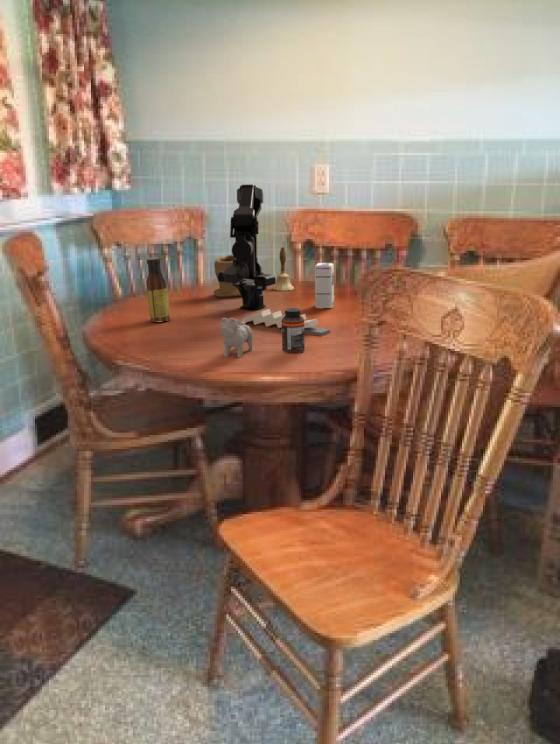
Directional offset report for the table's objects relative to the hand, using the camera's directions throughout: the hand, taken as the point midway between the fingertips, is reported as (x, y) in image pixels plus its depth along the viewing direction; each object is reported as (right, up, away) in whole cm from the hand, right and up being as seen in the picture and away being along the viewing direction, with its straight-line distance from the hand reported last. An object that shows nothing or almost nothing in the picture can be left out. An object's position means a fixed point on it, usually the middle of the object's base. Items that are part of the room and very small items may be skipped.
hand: (247, 305), depth 205 cm
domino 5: (+14, -7, -8) cm, 18 cm away
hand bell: (+12, +11, +50) cm, 52 cm away
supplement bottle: (+14, -15, -30) cm, 36 cm away
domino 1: (0, -4, +1) cm, 4 cm away
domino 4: (+11, -6, -6) cm, 14 cm away
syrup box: (+25, +1, +19) cm, 32 cm away
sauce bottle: (-28, -5, +5) cm, 29 cm away
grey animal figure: (-1, -16, -32) cm, 35 cm away
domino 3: (+7, -6, -3) cm, 10 cm away
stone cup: (-7, +7, +39) cm, 40 cm away
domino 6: (+17, -8, -10) cm, 21 cm away
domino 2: (+3, -5, -1) cm, 6 cm away
